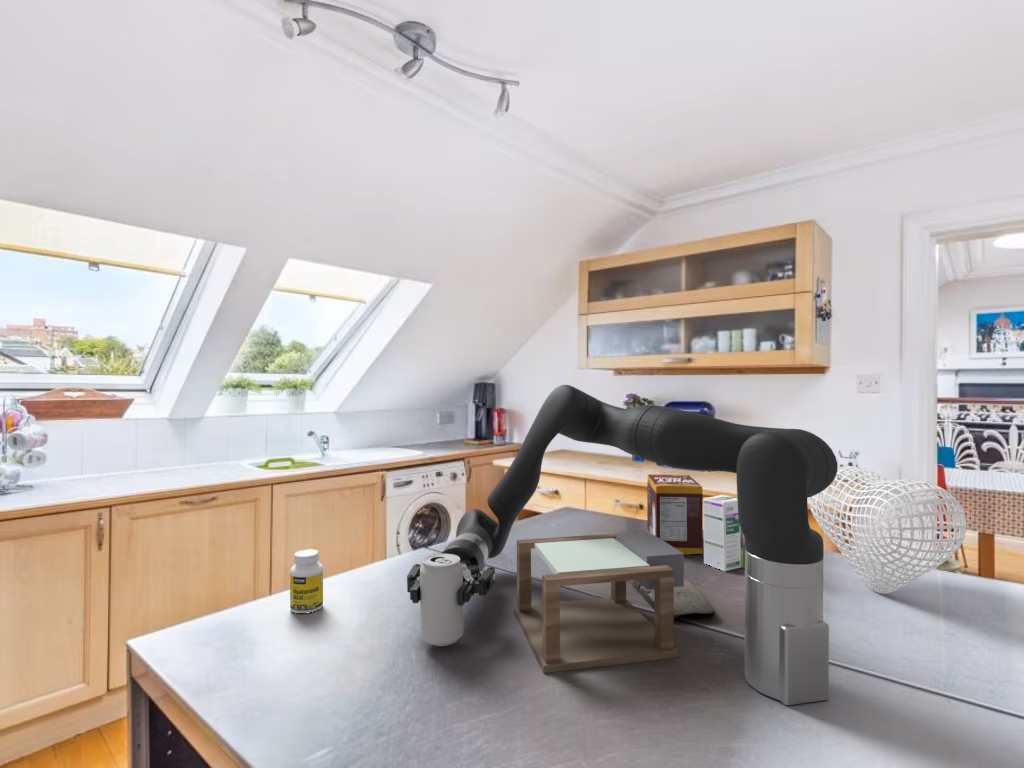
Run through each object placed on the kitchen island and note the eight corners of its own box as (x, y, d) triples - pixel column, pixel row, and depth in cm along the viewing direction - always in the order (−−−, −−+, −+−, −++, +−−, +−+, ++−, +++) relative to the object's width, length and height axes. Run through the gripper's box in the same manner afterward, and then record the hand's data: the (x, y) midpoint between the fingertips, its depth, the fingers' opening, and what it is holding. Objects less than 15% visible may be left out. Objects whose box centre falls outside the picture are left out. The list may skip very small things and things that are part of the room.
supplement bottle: (288, 616, 94) (287, 559, 93) (292, 604, 99) (291, 549, 99) (322, 613, 95) (321, 556, 95) (324, 600, 100) (323, 546, 100)
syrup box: (725, 572, 114) (725, 501, 113) (702, 564, 119) (702, 496, 118) (743, 567, 116) (744, 498, 116) (721, 559, 122) (721, 493, 121)
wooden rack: (678, 657, 80) (678, 570, 79) (543, 673, 76) (543, 581, 75) (623, 601, 99) (623, 532, 99) (513, 611, 95) (513, 539, 95)
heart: (792, 568, 116) (792, 462, 115) (859, 564, 118) (859, 460, 118) (906, 629, 88) (907, 489, 88) (990, 622, 90) (992, 486, 90)
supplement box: (688, 535, 140) (688, 473, 139) (703, 555, 124) (703, 486, 124) (646, 534, 141) (646, 473, 141) (655, 554, 125) (656, 485, 125)
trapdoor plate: (687, 588, 83) (687, 555, 83) (558, 600, 79) (558, 565, 79) (646, 558, 97) (646, 530, 97) (534, 567, 93) (534, 537, 93)
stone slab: (661, 612, 90) (614, 548, 120) (660, 631, 91) (613, 563, 120) (722, 611, 91) (660, 548, 121) (722, 630, 91) (660, 562, 121)
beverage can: (443, 624, 88) (441, 549, 88) (472, 636, 84) (471, 557, 84) (412, 639, 83) (410, 560, 83) (441, 653, 79) (440, 569, 79)
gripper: (423, 537, 99) (389, 570, 82) (503, 539, 96) (485, 574, 80) (424, 579, 99) (390, 620, 82) (504, 582, 97) (486, 626, 80)
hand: (437, 597), depth 81 cm, fingers closed on beverage can, 6 cm apart
